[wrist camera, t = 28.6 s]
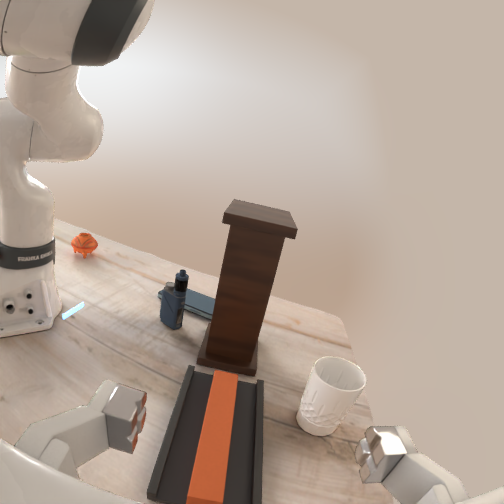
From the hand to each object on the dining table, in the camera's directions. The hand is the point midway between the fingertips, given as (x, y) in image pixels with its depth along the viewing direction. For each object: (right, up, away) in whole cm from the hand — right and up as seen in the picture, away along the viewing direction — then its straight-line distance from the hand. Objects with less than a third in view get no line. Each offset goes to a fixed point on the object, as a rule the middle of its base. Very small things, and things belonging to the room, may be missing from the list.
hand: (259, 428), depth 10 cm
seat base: (-5, -18, +26) cm, 32 cm away
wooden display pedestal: (-4, -12, +46) cm, 48 cm away
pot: (-47, +5, +70) cm, 85 cm away
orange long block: (-5, -17, +25) cm, 31 cm away
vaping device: (-16, -8, +50) cm, 53 cm away
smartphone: (-14, -6, +60) cm, 62 cm away
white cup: (+9, -20, +32) cm, 39 cm away
